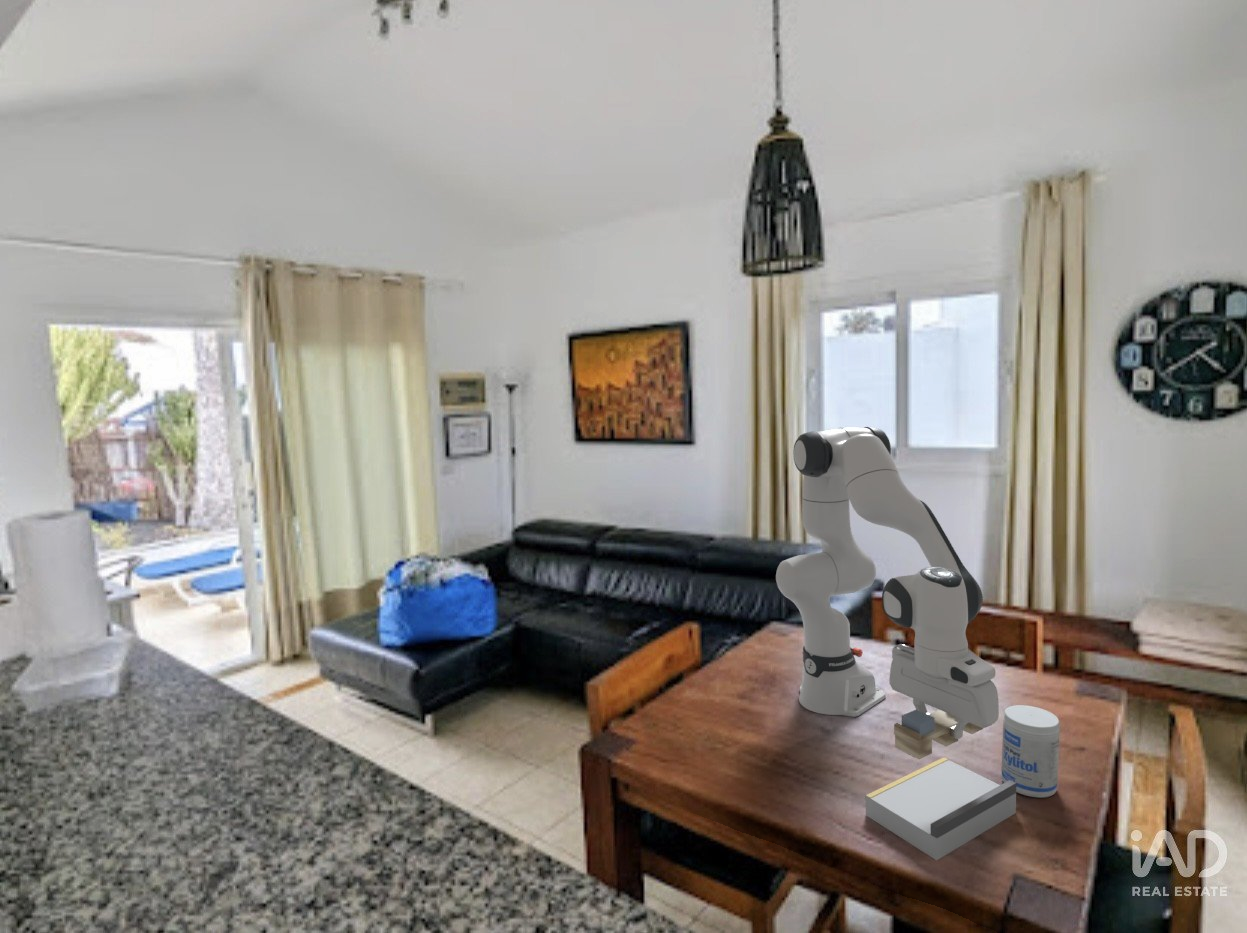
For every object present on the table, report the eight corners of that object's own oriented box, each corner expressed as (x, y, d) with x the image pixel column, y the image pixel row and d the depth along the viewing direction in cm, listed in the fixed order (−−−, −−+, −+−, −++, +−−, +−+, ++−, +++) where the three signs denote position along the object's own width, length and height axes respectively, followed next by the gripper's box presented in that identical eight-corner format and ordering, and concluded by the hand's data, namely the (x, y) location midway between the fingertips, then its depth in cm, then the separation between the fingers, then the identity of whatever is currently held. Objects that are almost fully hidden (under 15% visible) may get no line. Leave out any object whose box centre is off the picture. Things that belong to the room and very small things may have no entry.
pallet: (959, 718, 134) (959, 696, 134) (984, 728, 130) (984, 705, 130) (894, 747, 125) (894, 724, 125) (918, 759, 121) (918, 735, 120)
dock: (943, 775, 141) (943, 748, 141) (1015, 813, 128) (1016, 782, 128) (865, 815, 130) (865, 785, 129) (936, 860, 117) (936, 827, 116)
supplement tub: (996, 788, 136) (997, 718, 134) (1007, 767, 143) (1008, 699, 142) (1053, 806, 130) (1055, 732, 128) (1061, 782, 137) (1063, 712, 135)
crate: (916, 722, 127) (916, 709, 126) (934, 730, 123) (934, 717, 123) (901, 728, 125) (901, 715, 124) (919, 737, 121) (919, 724, 121)
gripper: (881, 644, 133) (882, 712, 135) (982, 681, 116) (981, 759, 117) (903, 637, 136) (903, 703, 138) (1004, 672, 119) (1003, 747, 120)
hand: (940, 729), depth 127 cm, fingers closed on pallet, 5 cm apart
